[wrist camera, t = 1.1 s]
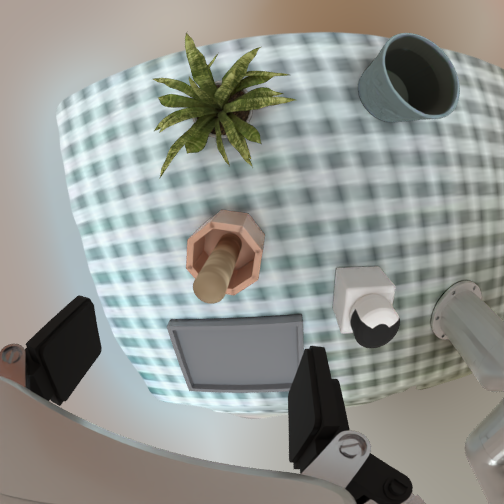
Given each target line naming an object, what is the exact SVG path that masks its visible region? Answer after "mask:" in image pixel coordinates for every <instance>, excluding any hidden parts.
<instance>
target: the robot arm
mask: <svg viewBox="0 0 504 504" xmlns="http://www.w3.org/2000/svg"><path fill="white" fill-rule="evenodd" d="M431 326H432V330H433V332H434V333H435V335H436V336H437V337H438V338H440V339H443V340H448V339H449V340H450V341H451V343H452V344H453V346H454V347H455V348H456V350H457V351H458V352H459V354H460V355H461V357H462V358H463V359H464V361H465V362H466V364H467V365H468V367H469V368H470V370H471V371H472V372H473V374H474V375H475V377H476V378H477V380H478V381H479V383H480V384H481V386H482V387H483V388H485V389H486V390H488V391H492V392H504V321H503V320H502V319H501V318H500V317H499V316H498V315H497V314H496V313H495V312H494V311H493V310H492V309H491V308H490V307H489V306H488V305H487V304H486V303H485V302H483V301H482V293H481V290H480V288H479V287H478V285H476V284H475V283H474V282H472V281H468V280H467V281H461V282H458V283H456V284H455V285H453V286H452V287H450V288H449V289H448V290H447V291H446V292H445V293H444V294H443V295H442V297H441V298H440V299H439V301H438V303H437V304H436V306H435V309H434V311H433V314H432V319H431ZM26 346H27V348H26V349H24V348H23V347H22V346H21V345H19V344H9V345H7V346H5V347H4V348H3V349H2V350H1V351H0V504H426V503H425V502H424V501H423V500H422V499H421V498H420V497H419V496H418V495H416V496H414V495H413V494H412V488H413V487H412V483H411V481H410V479H409V478H408V477H407V476H406V475H404V474H402V473H400V472H399V471H398V470H396V469H394V468H392V467H391V466H389V465H388V464H386V463H385V462H383V461H382V460H380V459H378V458H377V457H375V456H374V455H372V454H371V453H370V452H371V444H370V441H369V440H368V438H367V437H366V436H365V435H363V434H362V433H360V432H357V431H352V430H349V425H348V420H347V415H346V411H345V406H344V401H343V397H342V392H341V388H340V383H339V381H338V380H337V379H331V374H330V369H329V365H328V360H327V355H326V351H325V348H324V347H317V346H310V348H309V349H305V350H304V353H303V356H302V358H301V361H300V364H299V367H298V369H297V372H296V375H295V377H294V380H293V382H292V385H291V387H290V390H289V394H288V415H289V461H290V462H293V463H294V469H300V473H301V474H296V473H289V472H281V471H272V470H264V469H256V468H248V467H241V466H235V465H229V464H223V463H217V462H212V461H207V460H202V459H198V458H193V457H189V456H185V455H181V454H177V453H173V452H169V451H166V450H163V449H159V448H156V447H152V446H150V445H146V444H143V443H141V442H137V441H135V440H132V439H129V438H127V437H124V436H121V435H118V434H116V433H114V432H111V431H109V430H106V429H104V428H102V427H99V426H97V425H94V424H92V423H90V422H88V421H86V420H84V419H82V418H80V417H78V416H75V415H73V414H72V413H69V412H68V411H66V410H64V409H62V408H60V407H58V406H56V405H54V404H53V403H51V402H49V400H50V399H51V401H52V402H54V403H56V404H57V405H59V406H60V405H61V404H62V402H63V401H66V400H67V399H68V398H69V396H70V395H71V394H72V392H73V391H74V389H75V388H76V386H77V385H78V384H79V382H80V381H81V379H82V378H83V377H84V375H85V374H86V372H87V371H88V370H89V368H90V367H91V366H92V364H93V363H94V362H95V360H96V359H97V358H98V356H99V355H100V353H101V343H100V338H99V333H98V328H97V322H96V316H95V311H94V305H93V303H92V302H91V300H90V299H89V298H86V297H83V296H77V297H76V298H75V299H74V300H73V301H71V302H70V303H69V304H68V305H67V306H66V307H65V308H64V309H63V310H61V311H60V312H59V313H58V314H57V315H56V316H55V317H54V318H52V319H51V320H50V321H49V322H48V323H47V324H46V325H45V326H44V327H43V328H42V329H41V330H39V332H37V333H36V334H35V335H34V336H33V337H32V338H31V339H30V340H29V341H28V342H27V343H26ZM465 453H466V456H467V459H468V462H469V464H470V466H471V468H472V470H473V472H474V474H475V476H476V478H477V480H478V482H479V484H480V486H481V488H482V490H483V493H484V495H485V497H486V499H487V501H488V504H504V398H503V399H502V400H501V402H500V403H499V404H498V405H497V406H496V407H495V408H494V410H493V411H492V412H491V413H490V414H489V415H488V416H487V417H486V418H485V419H484V420H483V421H482V422H481V423H480V424H479V425H478V426H477V427H476V428H475V429H474V430H473V431H472V432H471V433H470V434H469V436H468V437H467V439H466V443H465Z"/></svg>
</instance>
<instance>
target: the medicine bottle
mask: <svg viewBox="0 0 504 504" xmlns="http://www.w3.org/2000/svg"><path fill="white" fill-rule="evenodd" d="M394 294H395V285H394V284H393V283H392V282H391V280H390V279H389V278H388V277H387V276H386V274H385V273H384V272H383V271H382V270H381V268H380V267H378V266H374V267H344V268H337V269H336V277H335V289H334V300H333V310H334V313H335V316H336V319H337V322H338V325H339V328H340V331H341V333H354V336H355V339H356V341H357V342H358V343H359V344H360V345H361V346H363V347H366V348H377V347H380V346H383V345H385V344H387V343H388V342H389V341H391V340H392V339H393V337H394V336H395V335H396V333H397V331H398V329H399V326H400V319H399V316H398V314H397V313H396V311H395V310H394V308H393V307H392V304H393V299H394Z"/></svg>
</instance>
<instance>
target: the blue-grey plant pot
mask: <svg viewBox="0 0 504 504" xmlns="http://www.w3.org/2000/svg"><path fill="white" fill-rule="evenodd" d="M358 92H359V97H360V99H361V102H362V103H363V105H364V106H365V108H366V109H367V110H368V111H369V112H370V113H371V114H372V115H373V116H374V117H376V118H378V119H380V120H382V121H386V122H400V121H413V120H420V119H440V118H443V117H446V116H448V115H449V114H450V113H452V112H453V110H454V109H455V108H456V106H457V103H458V100H459V94H460V86H459V80H458V76H457V73H456V70H455V68H454V66H453V64H452V63H451V61H450V59H449V58H448V57H447V55H446V54H445V53H444V52H443V51H442V50H441V49H440V48H439V47H438V46H437V45H436V44H434V43H433V42H431V41H430V40H428V39H426V38H424V37H422V36H420V35H417V34H411V33H402V34H398V35H395V36H393V37H391V38H390V39H389V40H388V41H387V42H386V44H385V45H384V46H383V48H382V49H381V51H380V53H379V55H378V56H377V57H376V58H375V60H373V61H372V63H371V65H370V66H369V67H368V68H367V69H366V70H365V72H364V73H363V74H362V76H361V78H360V80H359V83H358Z"/></svg>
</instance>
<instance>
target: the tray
mask: <svg viewBox="0 0 504 504" xmlns="http://www.w3.org/2000/svg"><path fill="white" fill-rule="evenodd" d="M167 329H168V332H169V335H170V338H171V341H172V344H173V347H174V350H175V353H176V356H177V359H178V362H179V364H180V367H181V370H182V373H183V375H184V378H185V381H186V383H187V386H188V388H189V391H201V392H232V393H250V392H281V391H289V390H290V387H291V385H292V382H293V380H294V377H295V375H296V372H297V369H298V367H299V364H300V361H301V358H302V356H303V319H302V314H294V315H280V316H264V317H246V318H220V319H171V320H170V322H169V323H168V325H167Z"/></svg>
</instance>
